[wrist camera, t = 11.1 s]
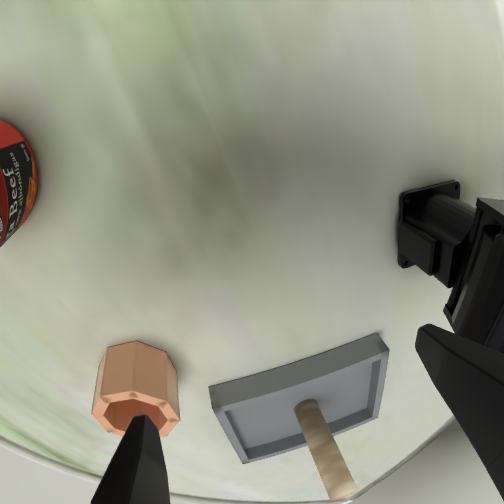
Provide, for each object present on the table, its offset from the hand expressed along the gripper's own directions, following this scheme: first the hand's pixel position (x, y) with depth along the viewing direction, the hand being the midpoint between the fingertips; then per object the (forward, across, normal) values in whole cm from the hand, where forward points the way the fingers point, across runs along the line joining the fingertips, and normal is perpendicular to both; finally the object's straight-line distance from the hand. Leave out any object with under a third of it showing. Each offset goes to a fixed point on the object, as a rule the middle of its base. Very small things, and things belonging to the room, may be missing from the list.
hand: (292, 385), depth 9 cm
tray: (+13, -3, +20) cm, 24 cm away
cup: (+13, +10, +10) cm, 19 cm away
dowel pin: (+12, -3, +20) cm, 24 cm away
